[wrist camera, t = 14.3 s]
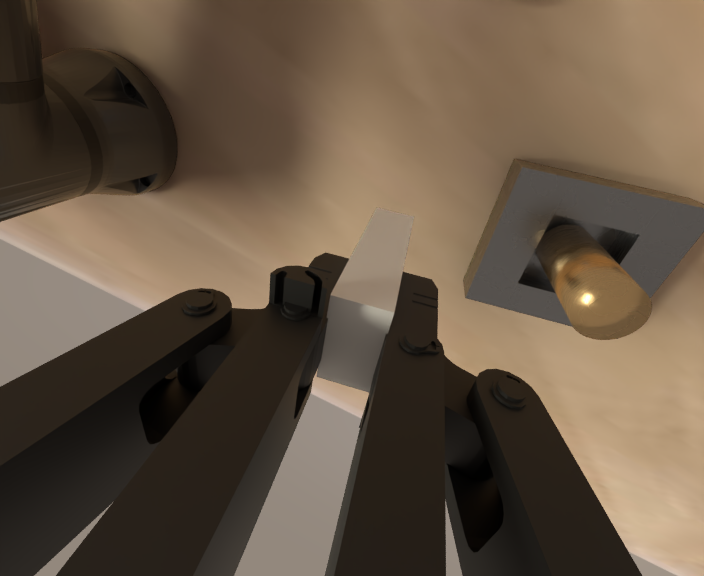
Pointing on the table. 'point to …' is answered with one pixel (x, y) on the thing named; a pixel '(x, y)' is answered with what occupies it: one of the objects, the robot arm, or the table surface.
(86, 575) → the robot arm
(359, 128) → the table surface
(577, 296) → the golden brown cylinder
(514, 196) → the jig block
